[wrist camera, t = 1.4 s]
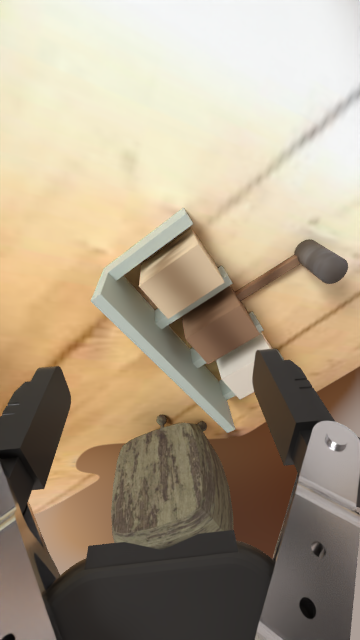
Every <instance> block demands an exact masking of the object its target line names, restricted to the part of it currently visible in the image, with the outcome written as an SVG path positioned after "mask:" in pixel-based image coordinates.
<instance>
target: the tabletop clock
mask: <svg viewBox="0 0 360 640" xmlns="http://www.w3.org/2000/svg"><path fill="white" fill-rule="evenodd" d="M166 420H167V419H166V417H165V416H164V415H159V416H158V417H157V423H158V424H159V425H161V429H157V430H154V431H152V432H149V433H147V434H144V435H142V436H139V437H137V438H134V439H132V440H130V441H129V442H127V443H126V444H125V445H123V447H122V449H121V451H120V454H119V457H118V461H117V466H116V472H115V478H114V485H113V498H112V511H111V512H112V533H113V538H114V542H115V543H120V542H127V543H132V544H137V545H141V546H146V547H151V548H155V549H165V548H168V547H170V546H172V545H174V544H177V543H179V542H181V541H183V540H186V539H188V538H190V537H192V536H195V535H197V534H201V533H210V532H219V531H228V530H233V512H232V505H231V498H230V491H229V486H228V483H227V479H226V476H225V472H224V469H223V466H222V463H221V461H220V459H219V457H218V455H217V453H216V452H215V450H214V449H213V447H212V446H211V444H210V442H209V441H208V439H207V438H206V436H205V434H204V433H203V431H205V430H206V428H207V425H206V423H205V422H203V421H202V422H199V423H198V424H190V423H178V424H174V425H171V426H167V427H164V424H165V423H166Z"/></svg>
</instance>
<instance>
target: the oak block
mask: <svg viewBox="0 0 360 640" xmlns="http://www.w3.org/2000/svg"><path fill="white" fill-rule="evenodd" d="M223 283H224V280H223V278H222V276H221V274H220V272H219V270H218V268H217V266H216V265H215V263H214V261H213V259H212V258H211V256H210V255H209V253H208V252H207V250H206V249H205V247H204V246H203V245H202V243H201V242H200V240H199V239H198V237H197V236H196V234H195V233H194V231H193V230H192V228H190V229H189V230H187V231H186V232H184V233H183V234H182V235H180V236H179V237H178V238H176V239H175V240H174V241H172V242H171V243H170V244H168V245H167V246H165V247H164V248H163V249H161V250H160V251H159V252H157V253H156V254H155V255H153V256H152V257H151V258H149V259H148V260H146V261H145V262H144V263H142V264H141V271H140V281H139V287H140V288H141V289H142V290H143V291H144V293H145V294H146V295H147V296H148V297H149V298H150V299H151V300H152V302H153V303H154V304H155V305H156V306H157V307H158V308H159V309H160V311H161V312H162V313H163V314H164V315H165V316H166V317H167V318H168V319H169V318H171V317H172V316H174V315H175V314H177V313H178V312H180V311H181V310H183V309H185V308H186V307H188V306H189V305H191V304H192V303H194V302H195V301H197V300H198V299H200V298H201V297H203V296H204V295H206V294H208V293H209V292H211V291H212V290H214V289H215V288H217V287H218V286H220V285H221V284H223Z"/></svg>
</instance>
